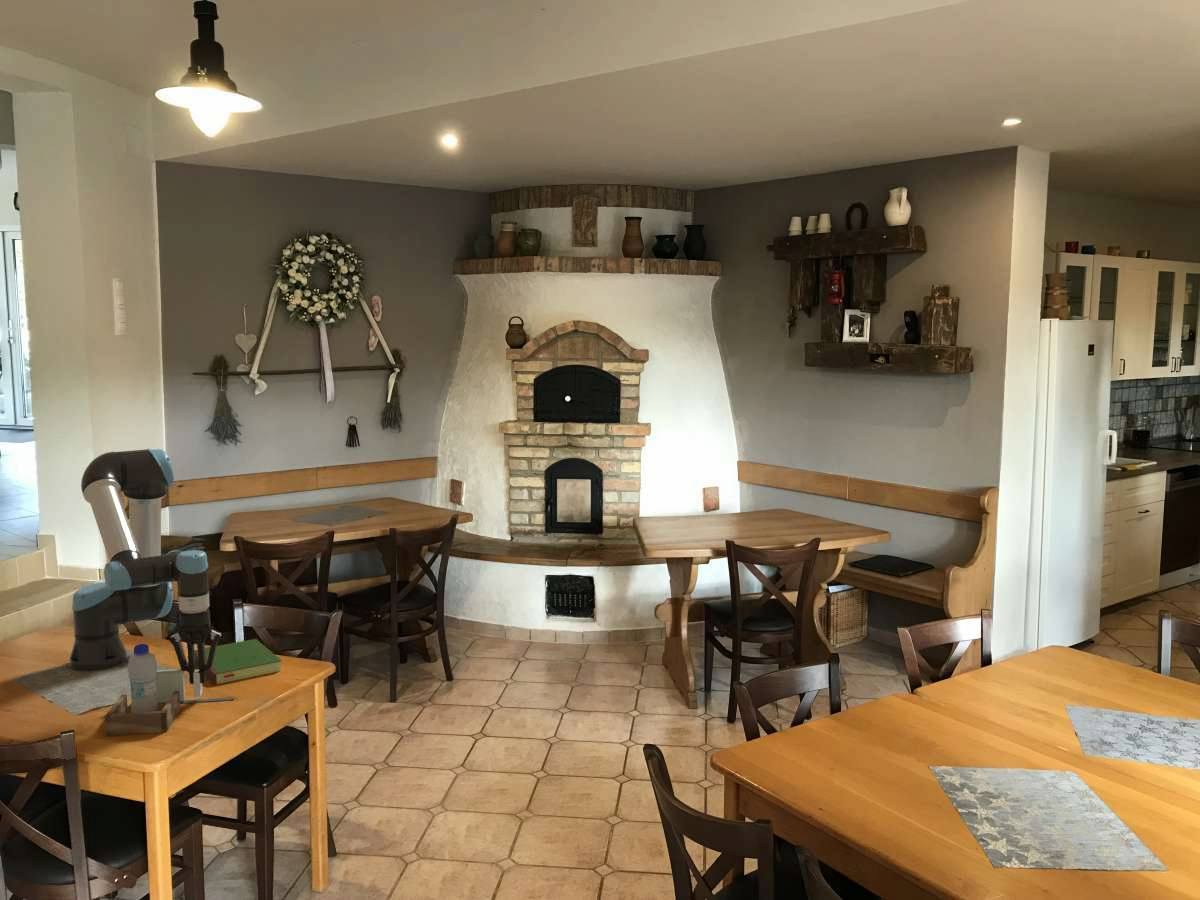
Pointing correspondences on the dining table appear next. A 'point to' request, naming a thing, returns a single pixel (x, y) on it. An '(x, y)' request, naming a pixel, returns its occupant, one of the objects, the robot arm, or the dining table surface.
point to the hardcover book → (240, 661)
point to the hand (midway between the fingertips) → (198, 694)
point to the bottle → (143, 680)
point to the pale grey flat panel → (169, 684)
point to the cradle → (146, 716)
